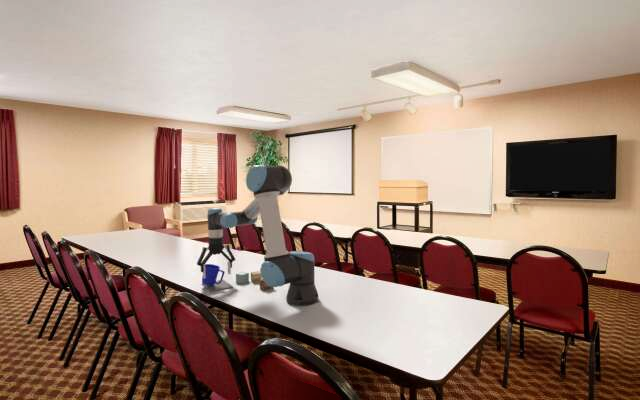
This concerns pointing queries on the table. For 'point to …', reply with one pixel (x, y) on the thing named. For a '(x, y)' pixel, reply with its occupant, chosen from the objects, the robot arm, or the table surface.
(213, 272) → the mug
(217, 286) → the trivet
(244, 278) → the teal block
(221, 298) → the table surface
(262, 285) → the walnut block
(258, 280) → the oak block
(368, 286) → the table surface
